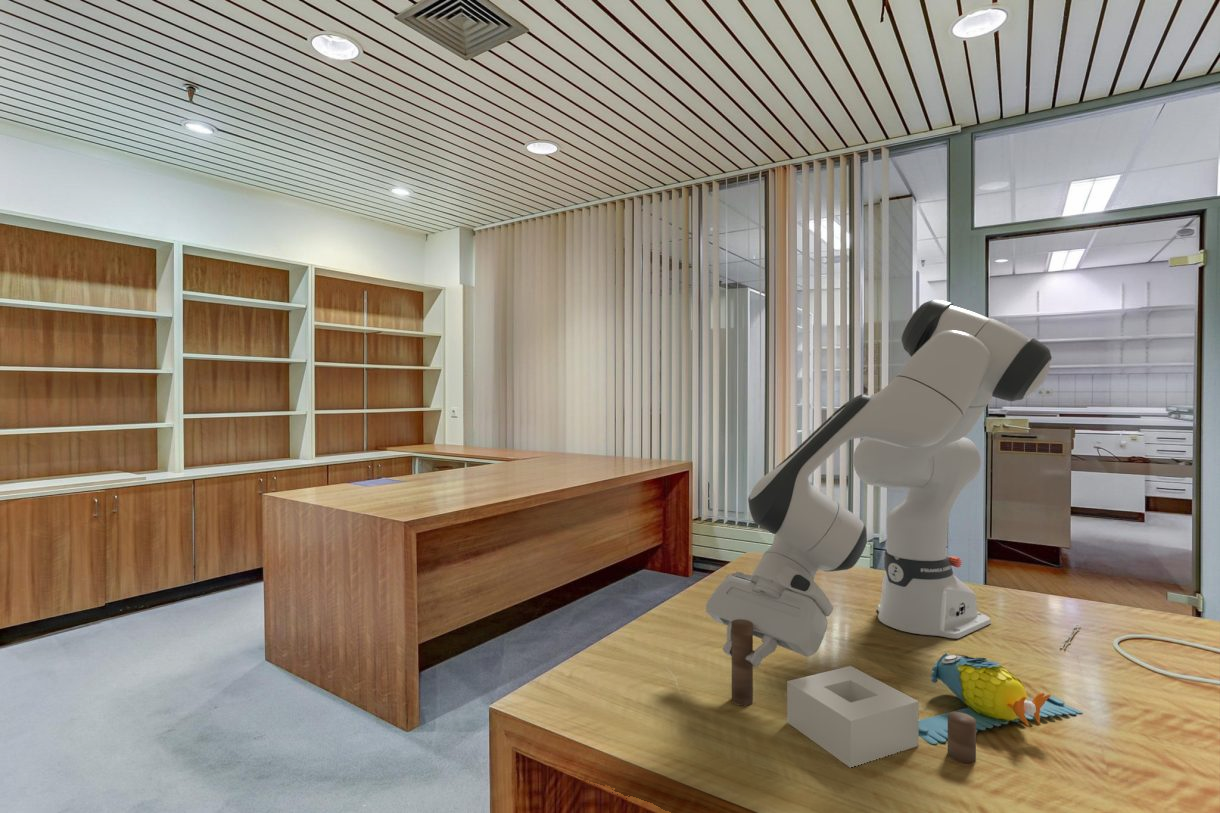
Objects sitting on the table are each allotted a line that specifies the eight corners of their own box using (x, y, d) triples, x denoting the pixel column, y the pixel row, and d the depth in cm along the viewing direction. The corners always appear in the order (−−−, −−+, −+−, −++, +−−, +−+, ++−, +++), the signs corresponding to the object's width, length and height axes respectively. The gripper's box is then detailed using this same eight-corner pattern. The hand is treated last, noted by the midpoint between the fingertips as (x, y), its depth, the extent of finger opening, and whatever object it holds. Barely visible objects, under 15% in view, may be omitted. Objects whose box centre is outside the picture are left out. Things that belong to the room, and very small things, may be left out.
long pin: (744, 693, 97) (744, 618, 97) (757, 702, 94) (756, 624, 94) (727, 697, 96) (727, 621, 96) (739, 707, 93) (739, 628, 93)
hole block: (850, 705, 94) (850, 665, 94) (918, 745, 83) (918, 701, 83) (787, 722, 89) (787, 681, 89) (850, 768, 78) (850, 720, 78)
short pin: (958, 747, 82) (958, 710, 82) (981, 760, 79) (981, 721, 79) (941, 753, 81) (942, 715, 81) (964, 766, 78) (964, 727, 78)
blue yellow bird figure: (952, 695, 80) (870, 652, 94) (953, 763, 79) (871, 709, 94) (1109, 666, 88) (1011, 630, 102) (1110, 728, 88) (1012, 683, 102)
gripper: (722, 559, 107) (681, 627, 102) (826, 587, 91) (784, 671, 85) (739, 579, 110) (701, 648, 105) (843, 611, 94) (804, 694, 88)
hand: (739, 659), depth 95 cm, fingers closed on long pin, 3 cm apart
